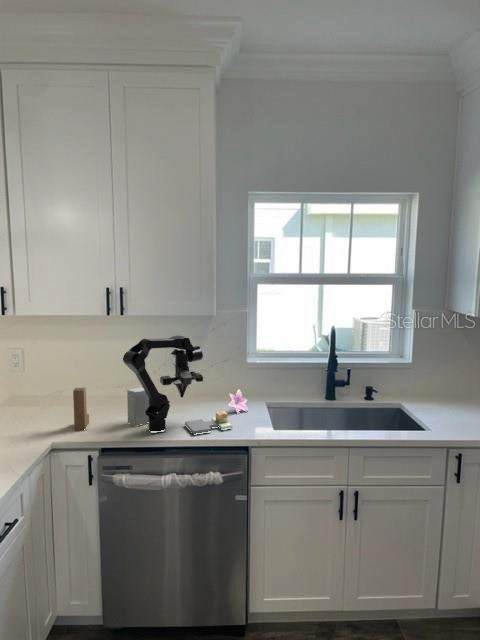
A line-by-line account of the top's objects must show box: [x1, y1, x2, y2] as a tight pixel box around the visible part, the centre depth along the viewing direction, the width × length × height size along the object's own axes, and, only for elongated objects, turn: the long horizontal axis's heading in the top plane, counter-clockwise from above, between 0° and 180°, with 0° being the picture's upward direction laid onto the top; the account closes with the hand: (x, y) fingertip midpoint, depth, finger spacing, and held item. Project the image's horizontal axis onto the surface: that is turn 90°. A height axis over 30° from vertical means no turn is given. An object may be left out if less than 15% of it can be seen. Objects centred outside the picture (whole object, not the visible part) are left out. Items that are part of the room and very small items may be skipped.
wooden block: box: [72, 387, 90, 431], centre depth 191 cm, size 9×4×18 cm, turn 8°
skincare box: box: [126, 386, 150, 427], centre depth 197 cm, size 8×7×16 cm
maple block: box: [215, 410, 228, 423], centre depth 196 cm, size 4×4×4 cm
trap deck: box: [184, 416, 233, 435], centre depth 194 cm, size 18×12×2 cm, turn 115°
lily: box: [228, 389, 249, 413], centre depth 216 cm, size 12×12×10 cm
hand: (181, 397), depth 198 cm, fingers closed
